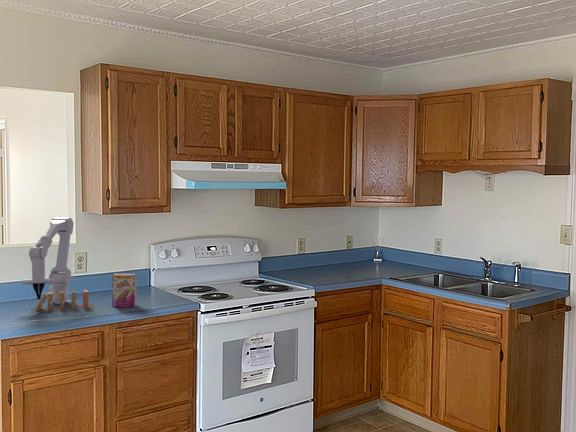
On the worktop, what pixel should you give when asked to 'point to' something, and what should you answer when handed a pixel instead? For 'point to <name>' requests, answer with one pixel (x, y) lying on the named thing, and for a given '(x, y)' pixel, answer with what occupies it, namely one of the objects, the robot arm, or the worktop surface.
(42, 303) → the maple tile
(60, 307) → the maple tile
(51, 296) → the maple tile
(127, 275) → the candy bar box
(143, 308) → the worktop surface
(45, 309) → the domino mat
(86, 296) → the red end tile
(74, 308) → the maple tile
